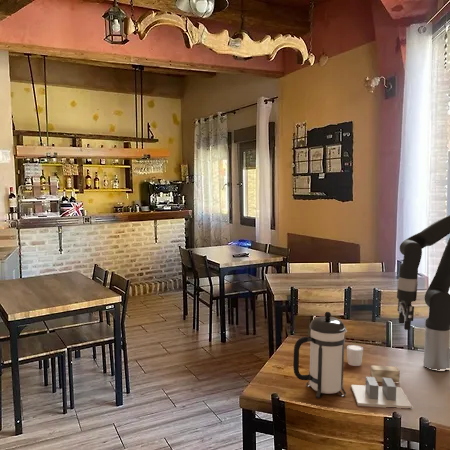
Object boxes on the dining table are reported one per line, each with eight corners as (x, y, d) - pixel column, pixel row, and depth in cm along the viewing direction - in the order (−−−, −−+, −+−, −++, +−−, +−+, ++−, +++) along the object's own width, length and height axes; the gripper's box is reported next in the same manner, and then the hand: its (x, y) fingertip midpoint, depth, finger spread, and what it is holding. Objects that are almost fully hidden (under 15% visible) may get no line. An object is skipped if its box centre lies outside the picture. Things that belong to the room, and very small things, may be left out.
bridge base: (400, 390, 164) (401, 374, 163) (412, 409, 150) (412, 392, 150) (351, 387, 166) (351, 371, 166) (357, 405, 152) (358, 389, 152)
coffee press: (314, 377, 174) (316, 303, 171) (353, 389, 164) (355, 311, 161) (291, 393, 161) (293, 313, 158) (332, 407, 151) (334, 322, 148)
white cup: (361, 360, 191) (361, 344, 191) (364, 367, 185) (364, 350, 184) (344, 359, 192) (345, 344, 191) (347, 366, 185) (348, 350, 185)
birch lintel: (396, 379, 174) (397, 366, 173) (399, 383, 170) (399, 371, 169) (370, 377, 175) (370, 365, 175) (372, 381, 171) (372, 369, 171)
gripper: (422, 293, 175) (418, 332, 176) (411, 285, 189) (408, 321, 191) (402, 291, 176) (399, 331, 177) (393, 283, 190) (390, 320, 191)
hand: (404, 326), depth 184 cm, fingers open, 8 cm apart
